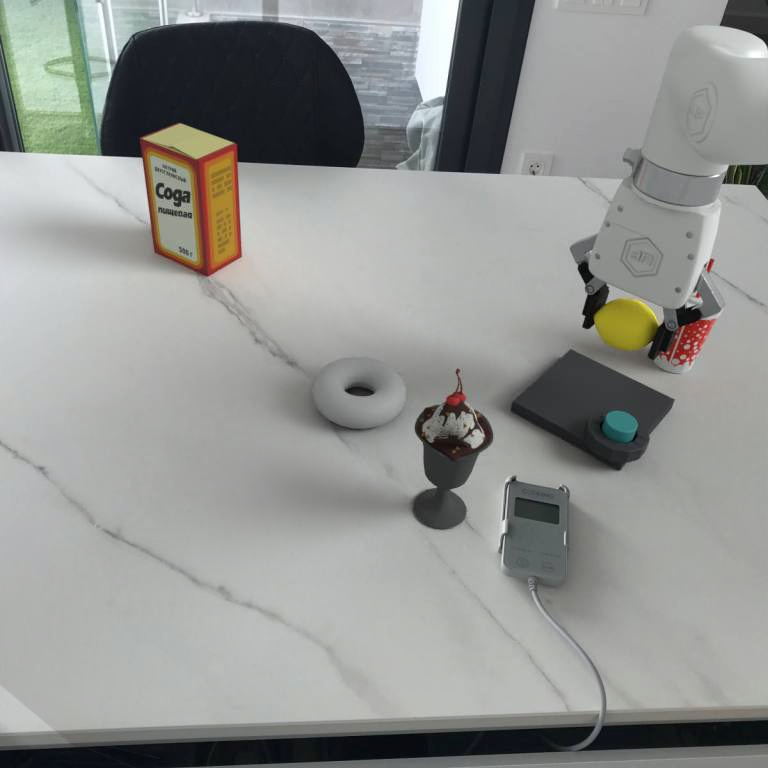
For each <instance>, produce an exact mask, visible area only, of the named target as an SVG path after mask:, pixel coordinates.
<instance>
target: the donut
mask: <svg viewBox="0 0 768 768" xmlns="http://www.w3.org/2000/svg"><path fill="white" fill-rule="evenodd" d="M353 388H363V389H368V390H369V391H372V392H373V393H372V394H370V395H366V396H365V395H363V396H361V395H354V394H350V393H348V392H347V390H349V389H353ZM311 392H312V394H311V396H312V399H313V402H314V404H315V407H316V409H317V410H318V412H320V413H321V415H322V416H324V417H325V418H326V419H327V420H328V421H330V422H332V423H334V424H336V425H338V426H341V427H345V428H349V429H353V430H368V429H373V428H378V427H382V426H384V425H386V424H388V423H390V422H392V421H394V419H395V418H396V417H398V416H399V414H401V412H402V411H403V409H404V406H405V405H406V402H407V399H408V396H407V385H406V383H405V381H404V379H403V377H402V376H401V374H400V372H398V371H397V369H395V368H393V367H392V365H390V364H388V363H386V362H384V361H382V360H380V359H378V358H373V357H368V356H347V357H340V358H339V359H336V360H334V361H332V362H329V363H328V364H326V365H325V366H324V367H323V368H321V369H320V370H319V372H318V373H317V375H316V376H315V378H314V380H313V383H312V391H311Z"/></svg>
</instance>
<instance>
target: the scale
mask: <svg viewBox="0 0 768 768" xmlns="http://www.w3.org/2000/svg"><path fill="white" fill-rule="evenodd" d="M675 401H676V399H674V398H673V397H670V396H669V395H667V394H664V393H662V392H661V391H658V390H656V389H654V388H652V387H650V386H648V385H646V384H645V383H642V382H640V381H638V380H636V379H633V378H632V377H629V376H628V375H625V374H623V373H621V372H619V371H617V370H615V369H613V368H611V367H609V366H607V365H605V364H603V363H600V362H598V361H596V360H594V359H592V358H590V357H588V356H586V355H585V354H582V353H580V352H578V351H576V350H574V349H572V348H570V349H569V350H568V351H566V352H565V353H564V354H563V355H561V357H560V358H559V359H558V360H557V361H556V362H555V363H553V364H552V365H551V366H550V367H549V368H548V369H547V370H546V371H545V372H543V373H542V374H541V375H540V376H539V377H538V378H537V379H536V380H534V381H533V382H532V383H531V384H530V385H529V386H528V387H527V388H525V389H524V390H523V391H522V392H521V393H520V394H519V395H518V396H517V397H516V398H514V399H513V400H512V402H511V406H510V412H511V413H514V414H516V415H517V416H519V417H521V418H523V419H524V420H527V422H529V423H532V424H533V425H536V426H537V427H539V428H541V429H543V430H544V431H547V432H548V433H550V434H552V435H554V436H555V437H557V438H559V439H561V440H563V441H565V442H567V443H569V444H570V445H572V446H574V447H576V448H577V449H579V450H581V451H583V452H585V453H586V454H588V455H590V456H592V457H594V458H595V459H597V460H600V461H601V462H603V463H605V464H607V465H608V466H611V467H612V468H614V469H615V470H618V471H621V470H622V469H623V468H624V467H625V465H626V464H627V463H631V462H636V461H639V460H640V459H641V458H642V456H643V455H644V454H645V453H646V451H647V448H648V446H649V443H650V441H651V440H650V439H651V438H650V435H651V434H652V433H653V432H654V431H655V430H656V428H657V427H658V425H660V423H661V422H662V421H663V419H664V418H665V417H667V415H668V414H669V413H670V411H671V410H672V408H673V405H674V403H675ZM612 411H622V412H626V413H628V414H630V415H631V416H633V417H634V418H635V419H636V421H637V423H638V427H637V430H636V432H635V435H634V437H633V439H632V440H631V441H630V442H628V443H620V442H614V441H612V440H610V439H609V438H607V437H606V436H605V435H604V434H603V432H602V426H603V423H604V420H605V417H606V415H607V414H608V413H609V412H612Z"/></svg>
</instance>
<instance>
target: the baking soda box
mask: <svg viewBox="0 0 768 768" xmlns="http://www.w3.org/2000/svg"><path fill="white" fill-rule="evenodd" d="M139 143H140V152H141V158H142V166H143V173H144V182H145V183H144V184H145V190H146V191H145V192H146V198H147V204H148V213H149V221H150V229H151V237H152V245H153V252H154V253H155V254H158V255H159V256H161V257H164V258H166V259H168V260H171V261H173V262H174V263H177V264H179V265H182V266H184V267H185V268H188V269H190V270H192V271H195V272H196V273H199V274H201V275H204V276H205V277H210V276H212V275H213V274H215V273H217V272H218V271H221V270H222V269H224V268H225V267H227V266H228V265H230V264H233V263H234V262H235V261H237V260H239V259H241V258H242V257H243V251H242V248H243V247H242V229H241V207H240V185H239V184H240V183H239V163H238V162H239V161H238V144H237V143H236V142H234V141H230V140H228V139H225V138H222V137H219V136H216V135H214V134H211V133H208V132H205V131H203V130H200V129H197V128H195V127H192V126H189V125H187V124H184V123H181V122H177V123H175V124H172V125H169V126H167V127H164V128H162V129H159V130H157V131H153V132H151V133H148V134H146V135H144V136H143V135H142V136H141V137H139Z"/></svg>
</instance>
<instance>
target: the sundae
mask: <svg viewBox="0 0 768 768" xmlns="http://www.w3.org/2000/svg"><path fill="white" fill-rule="evenodd" d="M454 373H455V375H456V377H457V387H456V389H455V390H454V392H453V393H452V394H449V395H447V396H446V398H445V401H443V402H442V403H441V404H433V405H431V406H426V407H424V408H423V410H422V411H421V412H420V414H419V415H418V417H417V418H416V420H415V423H414V433H415V435H416V436H417V438H418V439H419V440H420V441H421V442H422V447H423V448H422V450H423V451H422V454H423V456H422V457H423V460H422V461H423V462H422V463H423V470H424V475H425V477H426V479H427V480H428V481H429V482H430V483H431V484H432V485H433V486H435V487H432V488H431V487H430V488H428V489H425V490H423V491H421V492H420V493H419V494H417V496H416V497H415V499H414V501H413V512H414V513H415V516H416V517H417V518H418V520H419V521H420V522H422V523H423V524H424V525H427V526H428V527H431V528H434V529H439V530H447V529H451V528H455V527H457V526H459V525H460V524H461V523H463V521H464V520H465V518H466V516H467V506H466V504H465V501H464V500H463V499H462V497H460V496H459V495H458V494H456V492H454V491H452V490H455V489H458V488H460V487H462V486H464V485H465V484H466V482H467V481H468V479H469V477H470V476H471V474H472V472H473V470H474V467H475V466H476V462H477V460H478V457H479V455H480V454H481V453H483V452H484V451H486V450H487V449H488V448H489V447H491V445H492V444H493V442H494V430H493V427H492V424H491V423H490V421H489V420H488V418H487V417H486V416H485V415H484V414H483V413H481V412H480V411H478V410H476V409H474V408H473V406H471V404H469V403H468V402H467V401H466V399H467V396H466V394H465V393H464V392H463V382H462V380H461V377H460V375H459V374H460V373H461V370H460V368H456V369H455V372H454ZM459 388H460V389H459Z"/></svg>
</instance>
